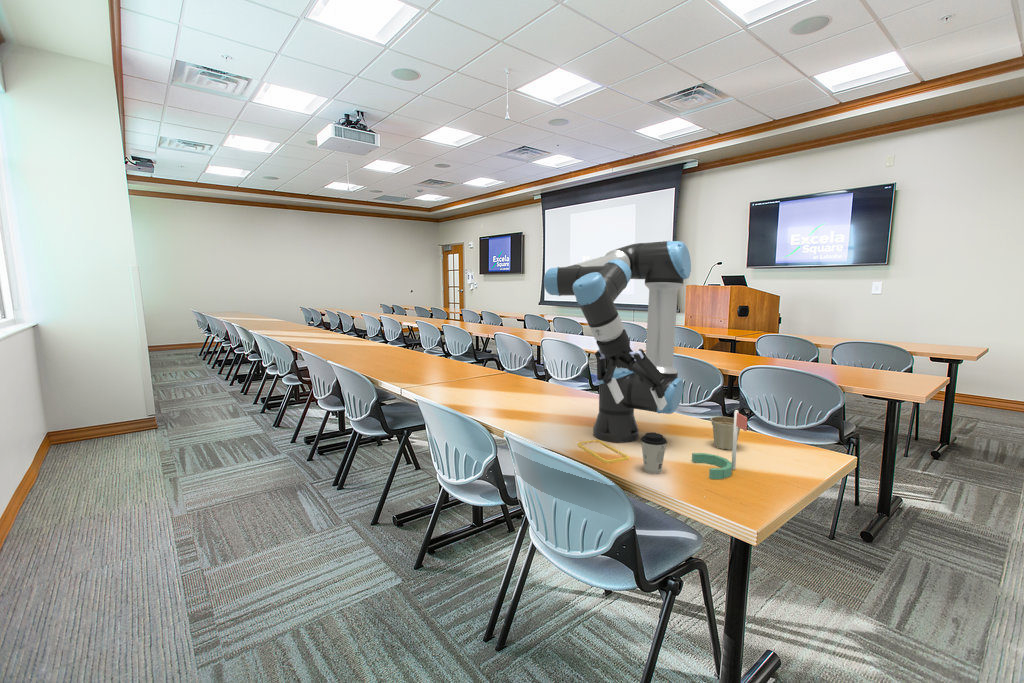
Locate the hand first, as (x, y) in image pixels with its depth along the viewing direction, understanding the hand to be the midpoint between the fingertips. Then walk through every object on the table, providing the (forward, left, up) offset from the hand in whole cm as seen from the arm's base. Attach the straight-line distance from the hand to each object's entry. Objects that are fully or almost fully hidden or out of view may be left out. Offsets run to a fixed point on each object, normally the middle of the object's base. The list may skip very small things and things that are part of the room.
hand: (640, 403), depth 116 cm
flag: (-4, +28, -21) cm, 35 cm away
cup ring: (-6, +23, -21) cm, 32 cm away
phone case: (-21, -5, -21) cm, 30 cm away
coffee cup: (-6, +6, -21) cm, 22 cm away
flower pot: (-24, +35, -21) cm, 47 cm away
